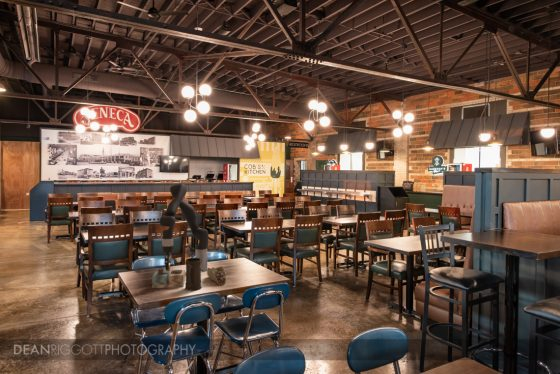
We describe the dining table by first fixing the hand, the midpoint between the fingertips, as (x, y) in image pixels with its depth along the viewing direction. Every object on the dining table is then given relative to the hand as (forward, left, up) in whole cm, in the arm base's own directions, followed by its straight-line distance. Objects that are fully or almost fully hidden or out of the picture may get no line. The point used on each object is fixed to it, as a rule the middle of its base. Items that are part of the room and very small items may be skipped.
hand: (168, 268), depth 255 cm
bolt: (+3, 0, -3) cm, 4 cm away
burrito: (-33, -5, -12) cm, 35 cm away
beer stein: (-18, +14, -12) cm, 25 cm away
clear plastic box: (-1, 0, -11) cm, 11 cm away
